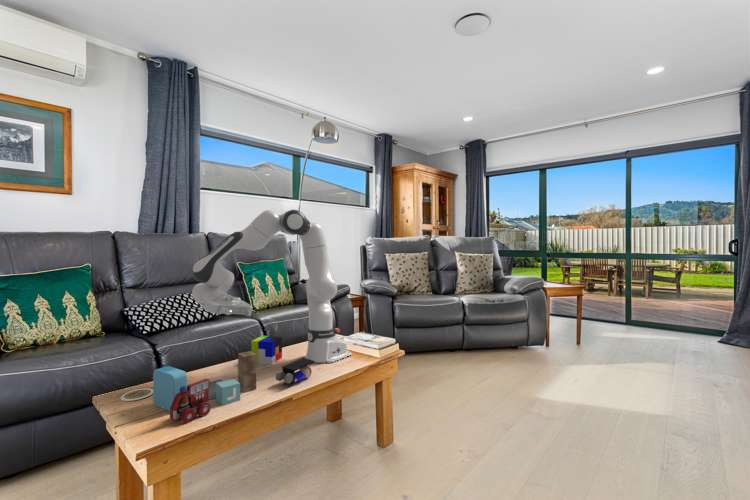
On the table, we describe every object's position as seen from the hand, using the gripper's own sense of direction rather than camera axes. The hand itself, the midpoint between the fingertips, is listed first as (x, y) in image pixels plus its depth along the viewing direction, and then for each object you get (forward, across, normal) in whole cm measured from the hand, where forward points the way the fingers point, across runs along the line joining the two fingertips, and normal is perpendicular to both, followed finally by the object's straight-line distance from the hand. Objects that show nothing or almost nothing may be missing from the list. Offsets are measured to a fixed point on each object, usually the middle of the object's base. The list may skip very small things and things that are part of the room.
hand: (240, 313), depth 144 cm
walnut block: (+15, +2, +24) cm, 28 cm away
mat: (+6, -5, +27) cm, 28 cm away
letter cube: (+18, -8, +26) cm, 32 cm away
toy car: (+24, +16, +19) cm, 35 cm away
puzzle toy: (-6, +28, +23) cm, 37 cm away
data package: (+6, -21, +31) cm, 38 cm away
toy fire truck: (+19, -22, +28) cm, 40 cm away
